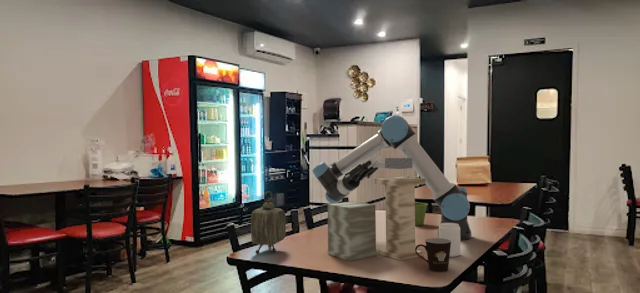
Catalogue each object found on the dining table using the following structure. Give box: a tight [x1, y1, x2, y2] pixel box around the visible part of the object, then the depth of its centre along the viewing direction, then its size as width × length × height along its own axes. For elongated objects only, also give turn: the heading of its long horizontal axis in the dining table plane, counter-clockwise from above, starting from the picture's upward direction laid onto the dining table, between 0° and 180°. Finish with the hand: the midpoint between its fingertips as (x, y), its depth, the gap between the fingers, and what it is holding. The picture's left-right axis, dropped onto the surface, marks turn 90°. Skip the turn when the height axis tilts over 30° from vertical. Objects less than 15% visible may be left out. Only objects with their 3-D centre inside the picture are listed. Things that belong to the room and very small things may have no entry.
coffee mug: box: [415, 237, 451, 273], centre depth 157 cm, size 12×9×10 cm
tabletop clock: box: [250, 190, 287, 255], centre depth 186 cm, size 14×9×25 cm, turn 159°
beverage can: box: [438, 222, 462, 258], centre depth 176 cm, size 8×8×12 cm
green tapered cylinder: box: [415, 202, 429, 226], centre depth 243 cm, size 12×12×11 cm
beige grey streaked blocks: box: [327, 176, 426, 262], centre depth 178 cm, size 26×28×30 cm
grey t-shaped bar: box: [362, 157, 413, 170], centre depth 184 cm, size 24×7×4 cm, turn 35°
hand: (379, 157), depth 186 cm, fingers closed on grey t-shaped bar, 2 cm apart
